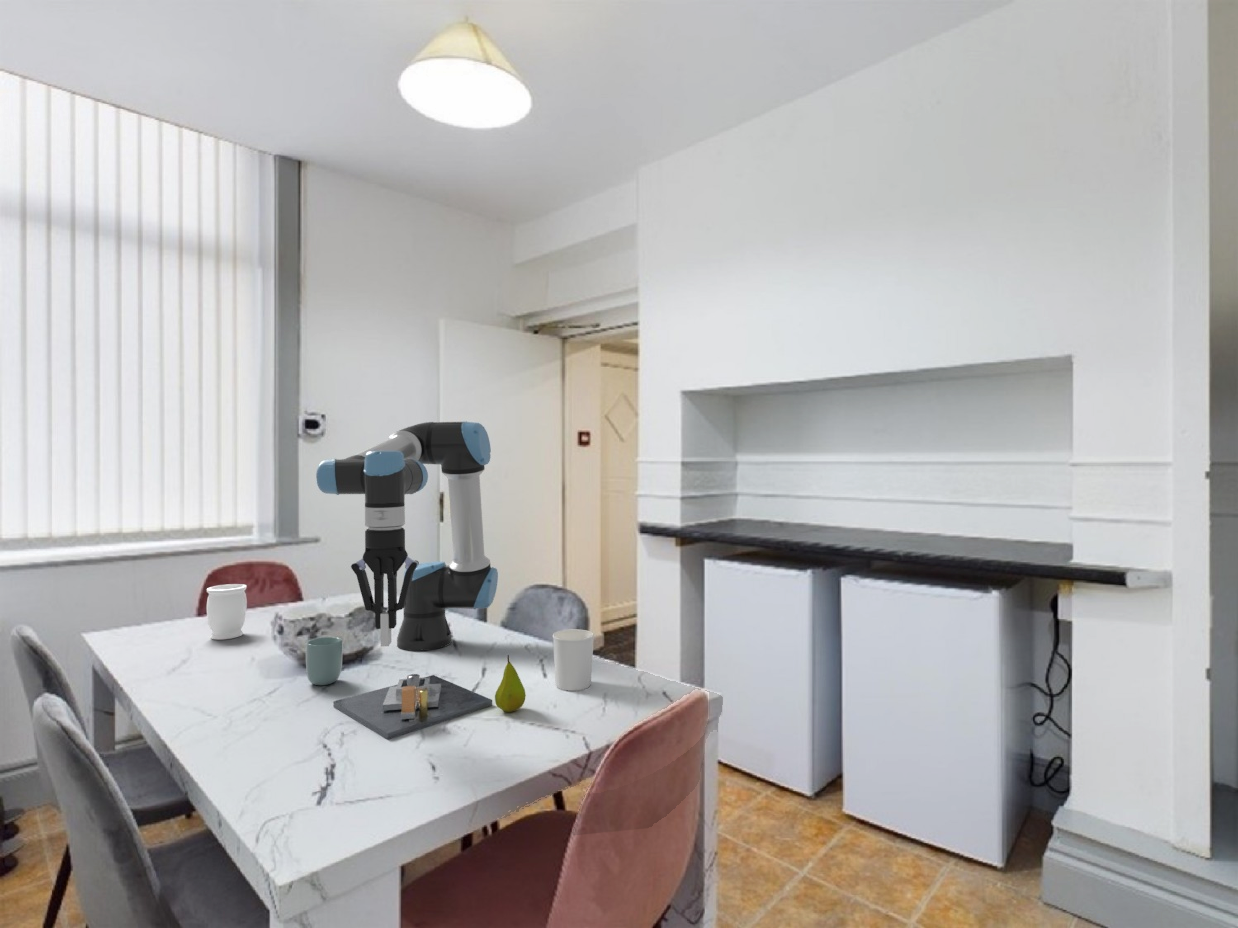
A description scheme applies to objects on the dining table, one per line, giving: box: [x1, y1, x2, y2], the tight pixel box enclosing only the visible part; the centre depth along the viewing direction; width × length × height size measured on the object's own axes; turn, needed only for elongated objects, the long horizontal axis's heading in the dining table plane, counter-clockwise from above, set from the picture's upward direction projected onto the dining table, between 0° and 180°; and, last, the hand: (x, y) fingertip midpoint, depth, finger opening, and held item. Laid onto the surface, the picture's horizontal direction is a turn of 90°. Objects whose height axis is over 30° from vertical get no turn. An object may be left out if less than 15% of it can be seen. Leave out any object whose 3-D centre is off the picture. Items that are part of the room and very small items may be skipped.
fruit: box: [494, 655, 526, 713], centre depth 138 cm, size 6×6×12 cm
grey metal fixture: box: [383, 676, 441, 719], centre depth 138 cm, size 16×11×6 cm, turn 12°
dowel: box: [419, 690, 427, 717], centre depth 132 cm, size 2×2×5 cm
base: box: [333, 673, 493, 740], centre depth 141 cm, size 24×24×6 cm
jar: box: [206, 583, 248, 641], centre depth 196 cm, size 11×10×15 cm
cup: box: [305, 636, 343, 686], centre depth 155 cm, size 8×8×10 cm
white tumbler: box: [552, 628, 595, 692], centre depth 154 cm, size 10×10×12 cm
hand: (386, 644), depth 131 cm, fingers closed
